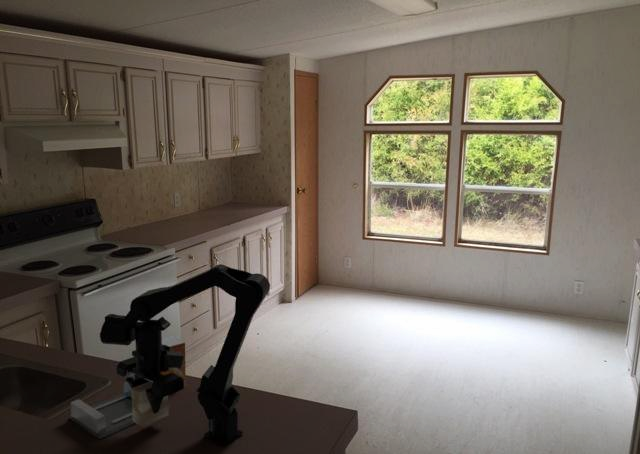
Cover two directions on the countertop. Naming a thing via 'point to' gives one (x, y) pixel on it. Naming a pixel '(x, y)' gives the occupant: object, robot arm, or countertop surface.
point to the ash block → (146, 406)
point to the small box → (178, 347)
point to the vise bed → (112, 416)
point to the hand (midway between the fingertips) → (150, 409)
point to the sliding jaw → (127, 389)
